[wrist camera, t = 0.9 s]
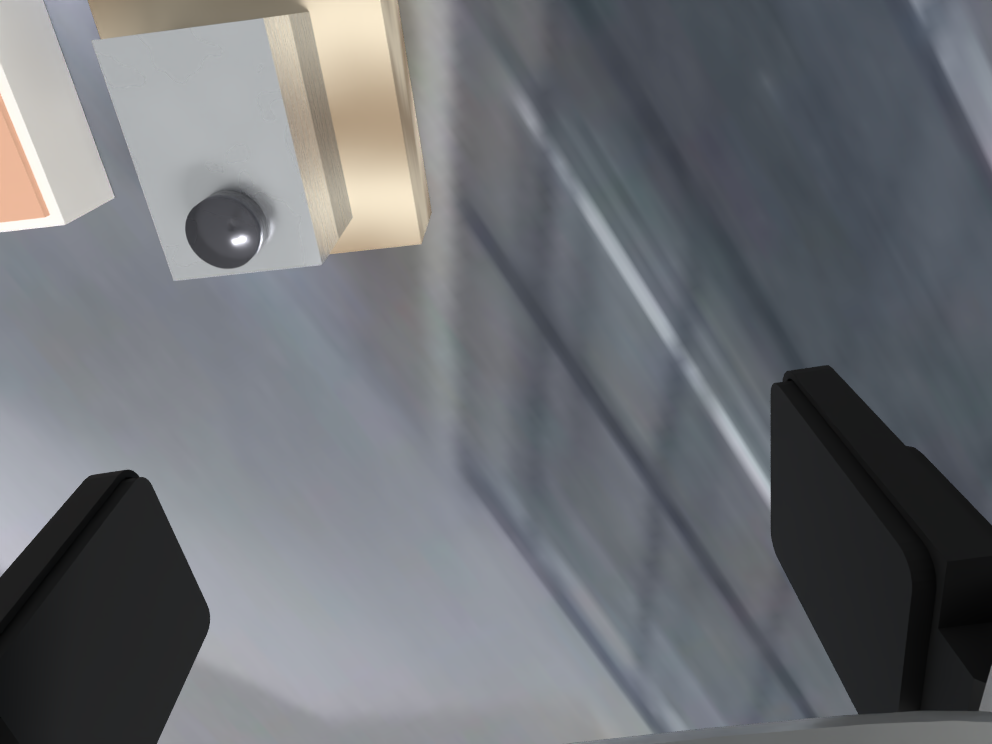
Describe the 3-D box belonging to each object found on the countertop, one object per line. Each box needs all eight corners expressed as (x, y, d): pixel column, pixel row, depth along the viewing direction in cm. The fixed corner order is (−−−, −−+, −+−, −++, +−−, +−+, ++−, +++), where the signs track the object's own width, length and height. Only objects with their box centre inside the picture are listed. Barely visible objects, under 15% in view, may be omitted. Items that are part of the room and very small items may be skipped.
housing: (169, 29, 28) (70, 43, 22) (309, 11, 28) (250, 19, 21) (228, 231, 32) (159, 293, 25) (352, 217, 31) (314, 276, 25)
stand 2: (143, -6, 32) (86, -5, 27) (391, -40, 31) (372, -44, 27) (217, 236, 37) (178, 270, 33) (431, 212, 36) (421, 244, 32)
